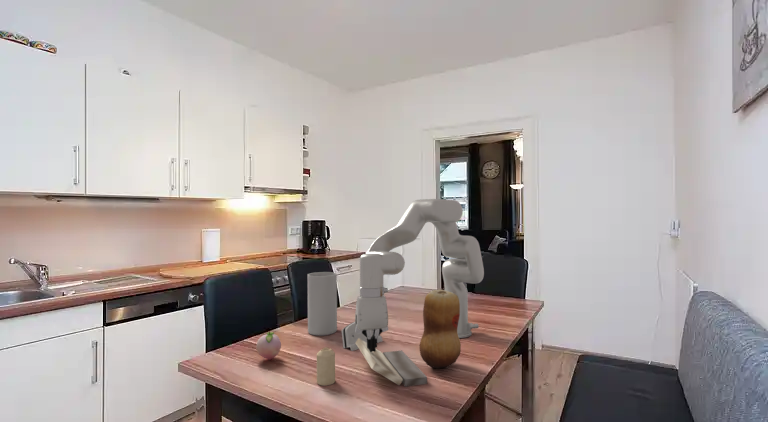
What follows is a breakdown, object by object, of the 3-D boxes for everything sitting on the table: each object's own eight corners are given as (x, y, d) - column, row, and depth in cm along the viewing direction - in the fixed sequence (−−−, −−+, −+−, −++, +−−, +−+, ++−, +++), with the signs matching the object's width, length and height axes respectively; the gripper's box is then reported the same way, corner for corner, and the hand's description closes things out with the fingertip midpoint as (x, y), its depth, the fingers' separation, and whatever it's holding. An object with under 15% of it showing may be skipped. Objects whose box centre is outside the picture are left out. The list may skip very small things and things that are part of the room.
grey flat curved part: (351, 351, 145) (345, 324, 147) (343, 352, 148) (338, 326, 150) (383, 340, 156) (377, 315, 159) (376, 342, 160) (370, 317, 162)
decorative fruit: (255, 357, 139) (255, 329, 140) (279, 354, 142) (279, 326, 142) (257, 366, 131) (257, 336, 131) (282, 363, 134) (282, 333, 134)
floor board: (401, 356, 139) (401, 350, 139) (427, 383, 116) (427, 376, 116) (383, 358, 137) (383, 352, 137) (404, 386, 114) (404, 379, 114)
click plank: (378, 357, 137) (381, 352, 137) (399, 385, 114) (403, 379, 114) (355, 342, 135) (358, 337, 135) (371, 369, 112) (375, 362, 112)
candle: (317, 378, 120) (317, 346, 121) (335, 377, 121) (335, 345, 121) (315, 386, 115) (315, 352, 115) (334, 385, 115) (334, 351, 116)
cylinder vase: (302, 334, 166) (301, 275, 166) (317, 326, 178) (317, 271, 178) (327, 337, 161) (327, 277, 162) (342, 329, 173) (341, 272, 173)
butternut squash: (451, 378, 120) (450, 296, 120) (412, 369, 127) (412, 292, 127) (467, 363, 131) (466, 289, 132) (431, 356, 139) (430, 285, 139)
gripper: (390, 289, 130) (391, 344, 130) (346, 291, 126) (346, 348, 125) (397, 293, 123) (397, 352, 122) (350, 296, 119) (351, 356, 118)
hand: (371, 350), depth 124 cm, fingers closed
